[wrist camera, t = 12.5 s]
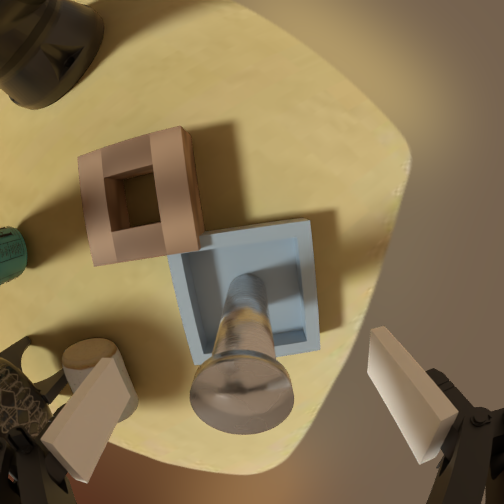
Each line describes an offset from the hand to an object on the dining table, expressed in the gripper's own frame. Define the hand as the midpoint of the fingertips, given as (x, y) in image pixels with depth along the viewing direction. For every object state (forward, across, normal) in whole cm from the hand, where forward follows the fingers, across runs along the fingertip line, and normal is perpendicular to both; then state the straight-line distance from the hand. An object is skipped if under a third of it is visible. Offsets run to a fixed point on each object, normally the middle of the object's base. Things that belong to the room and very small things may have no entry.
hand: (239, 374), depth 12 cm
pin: (+13, 0, -1) cm, 13 cm away
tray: (+14, 0, -1) cm, 14 cm away
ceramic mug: (+14, -19, -9) cm, 25 cm away
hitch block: (+14, -8, +9) cm, 19 cm away
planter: (+14, -30, -10) cm, 35 cm away
